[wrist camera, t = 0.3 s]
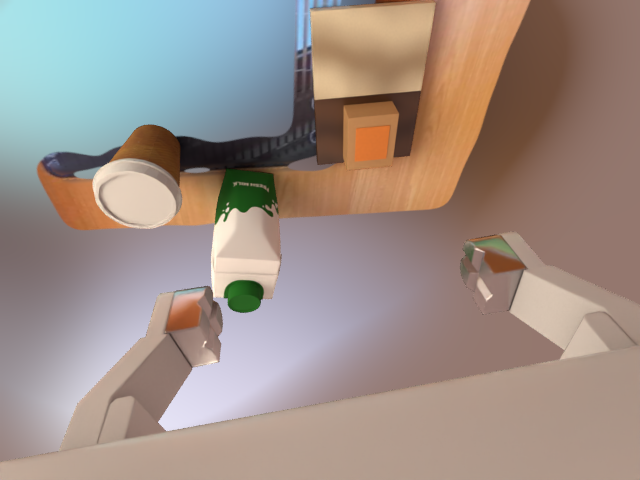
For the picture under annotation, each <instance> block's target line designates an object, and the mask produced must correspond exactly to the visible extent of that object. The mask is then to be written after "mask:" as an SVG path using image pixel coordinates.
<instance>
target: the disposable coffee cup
mask: <svg viewBox="0 0 640 480" xmlns="http://www.w3.org/2000/svg"><path fill="white" fill-rule="evenodd" d="M179 181H180V144H179V142H178V140H177V138H176V137H175V136H174V135H173V134H172V133H171V132H170V131H169V130H167V129H165V128H163V127H160V126H156V125H143V126H140V127H138V128H137V129H136V130H134V132H133V133H132V134H131V136H130V137H129V138H128V140H127V141H126V142H125V143H124V144H123V146H122V147H121V148H120V150H119V151H118V152H117V153H116V155H115V156H114V157H113V158H112V160H111V161H110V162H109V163H108V164H106V165H104V166H103V167H102V168H100V169H99V171H98V172H97V173H96V175H95V177H94V180H93V191H94V195H95V199H96V202H97V204H98V206H99V208H100V209H101V210H102V211H103V212H104V213H105V214H106V215H107V216H108V217H110V218H111V219H113V220H114V221H116V222H118V223H120V224H123V225H126V226H129V227H133V228H139V229H140V228H141V229H148V228H155V227H159V226H162V225H164V224H166V223H168V222H169V221H170V220H171V219H172V218H173V217H174V216H175V215H176V214H177V213H178V212H179V210H180V208H181V205H182V194H181V190H180V188H179V183H180V182H179Z"/></svg>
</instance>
